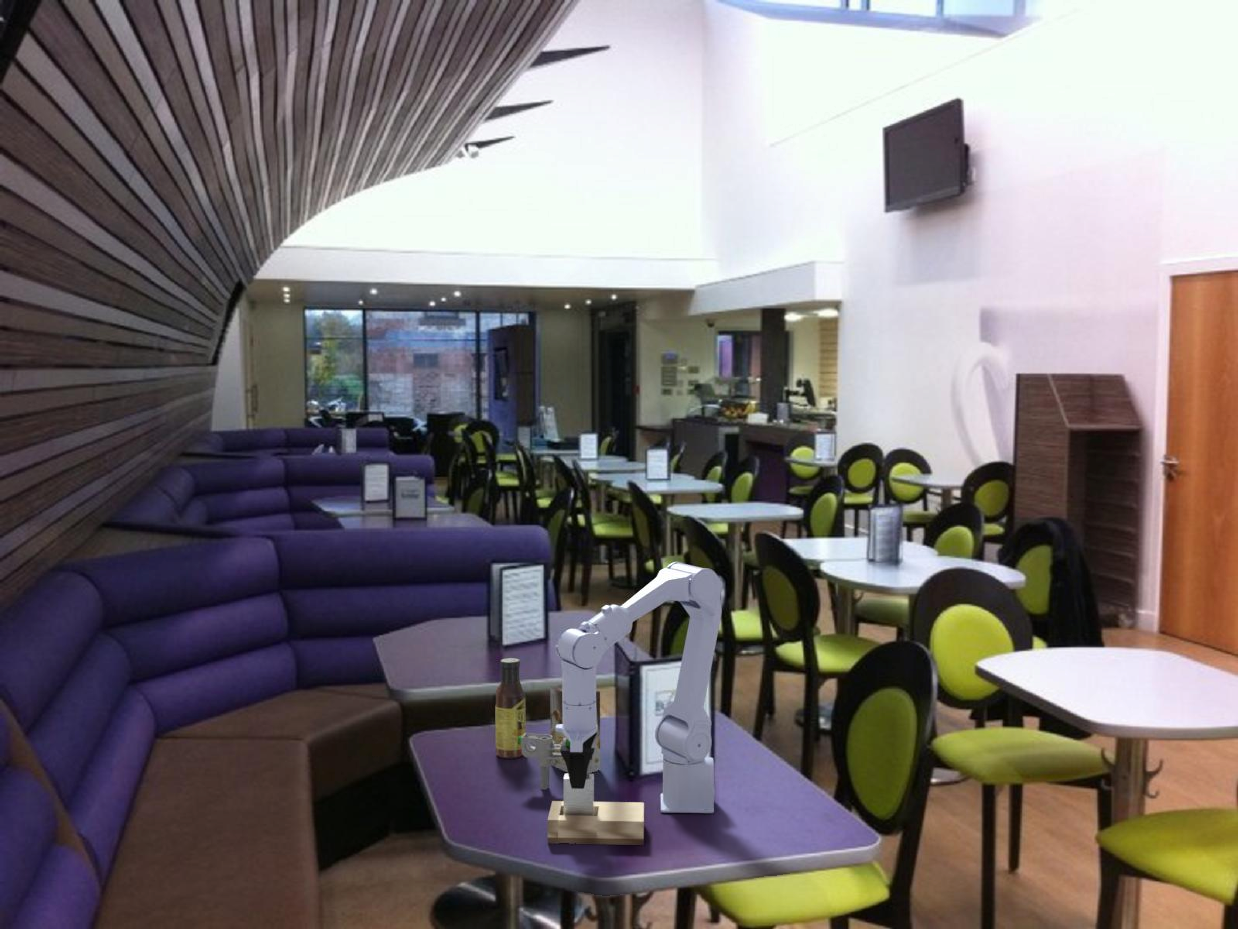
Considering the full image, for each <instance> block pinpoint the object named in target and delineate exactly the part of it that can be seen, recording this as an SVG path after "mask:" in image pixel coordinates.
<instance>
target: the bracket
mask: <svg viewBox="0 0 1238 929" xmlns="http://www.w3.org/2000/svg"><path fill="white" fill-rule="evenodd" d="M563 801H564V815H574V816H594V802H595V773H589V774H587V776H586V782H585V786H584V789H572V788H571V784H570V780H569V775H568V773H564V775H563Z"/></svg>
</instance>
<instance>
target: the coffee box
mask: <svg viewBox="0 0 1238 929" xmlns="http://www.w3.org/2000/svg"><path fill="white" fill-rule="evenodd" d="M549 692H550V694H549V695H550V698H549V700H550V703H549V704H550V705H549V707H550V713H549V714H550V735H552V736H553V740H554V741H555V743H554V744H561V742H562V741H563V738H566V736H565V735H564V734H563V733H562V732H557V731H556V725H557V724H563V715H562V684H560V685H559V684H558V685H557V686H553V687H549ZM596 725H597V729H598V731H597V735H596V737H595V739H594V741H593V744H592V747H591V748H595V749H594V753H593V755H592V757H591V759H590V762H589V765H588V769H587V774H588V773H589V774H593V773H596V772H599V771H601V692H600V691H599V690H598V689H596ZM553 753H560V751H558V750H553ZM551 763H552V765H551V766H552V767H554V768H557V769H558V768H559V770H560V771H563V772H566V774H568V770H567V766H566V763H565V761H564V759H561V760H555V759H551ZM598 770H599V771H598ZM592 772H593V773H592Z"/></svg>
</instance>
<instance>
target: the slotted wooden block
mask: <svg viewBox="0 0 1238 929" xmlns="http://www.w3.org/2000/svg"><path fill="white" fill-rule="evenodd" d="M644 828H645V803H644V802H641V801H640V802H639V801H638V802H636V801H635V802H634V801H632V802H631V801H629V802H627V801H625V802H624V801H622V802H621V801H594V816H574V815H564V800H551V805H550V809H549V813H548V817H547V844H559V843H569V844H568V845H573V844H574V845H575V843H576V845H616V846H617V845H618V846H619V845H620V846H621V845H622V846H623V845H625V846H627V845H629V846H632V845H633V846H644V843H643V842H645V841H644V837H645V836H644V835H645V833H644V832H645V829H644Z"/></svg>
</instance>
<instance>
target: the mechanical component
mask: <svg viewBox="0 0 1238 929" xmlns="http://www.w3.org/2000/svg"><path fill="white" fill-rule="evenodd" d="M531 743H533V744H534V745H535V746H533V745H532V744H531ZM554 743H555V741H554V740H553V736H552V735H551V734H549V733H547V734H546V733H544V734H543V733H542V734H541V733H530V732H529V733H528V732H525V733H524V734H523V736H518V744H521V750H522V754H523V755H522V756H523V757H525V758H531V759H538V763H537V765H538V766H539V768H540V790H544V791H545V790H546V791H547V790H548V788H550V767H551V766H552V763H551V759H555V760H561V759H563V757H562V755H561V753H553V750H558V751H560V748H561V746H570V744H569V741H568V739H567V738H563V741H562V742H561V744H554Z"/></svg>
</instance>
